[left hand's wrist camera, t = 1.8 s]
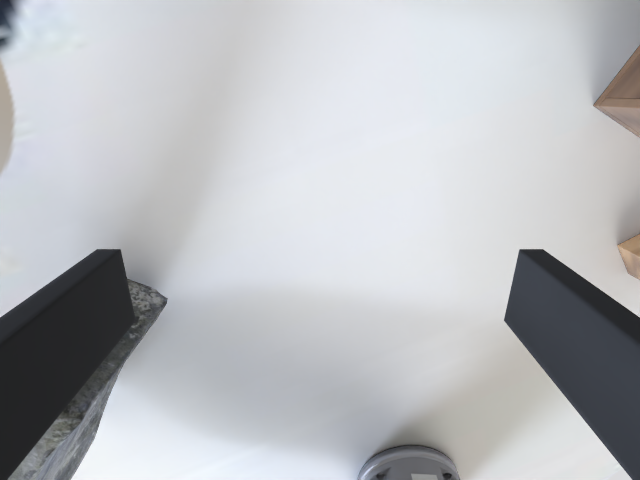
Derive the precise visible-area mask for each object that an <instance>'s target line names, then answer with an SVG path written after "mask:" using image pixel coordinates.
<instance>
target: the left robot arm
mask: <svg viewBox="0 0 640 480" xmlns="http://www.w3.org/2000/svg"><path fill="white" fill-rule="evenodd" d="M135 321H136V319H135V314H134V309H133V305H132V300H131V296H130V291H129V286H128V282H127V277H126V273H125V268H124V263H123V259H122V254H121V250H120V249H97V250H96V251H94V252H93V253H91V254H90V255H88V256H87V257H86V258H84V259H83V260H81V261H80V262H79V263H77V264H76V265H74V266H73V267H71V268H70V269H69V270H67V271H66V272H64V273H63V274H62V275H60V276H59V277H57V278H56V279H54V280H53V281H52V282H50V283H49V284H47V285H46V286H45V287H43V288H42V289H40V290H39V291H37V292H36V293H35V294H33V295H32V296H30V297H29V298H28V299H26V300H25V301H23V302H22V303H20V304H19V305H18V306H16V307H15V308H13V309H12V310H10V311H9V312H8V313H6V314H5V315H3V316H2V317H1V318H0V480H8V478H9V477H10V476H11V475H12V474H13V472H14V471H15V470H16V469H17V467H18V466H19V465H20V464H21V462H22V461H23V460H24V459H25V457H26V456H27V455H28V454H29V452H30V451H31V450H32V449H33V447H34V446H35V445H36V444H37V443H38V441H39V440H40V439H41V438H42V436H43V435H44V434H45V433H46V431H47V430H48V429H49V428H50V426H51V425H52V424H53V423H54V421H55V420H56V419H57V418H58V416H59V415H60V414H61V413H62V412H63V410H64V409H65V408H66V407H67V405H68V404H69V403H70V402H71V400H72V399H73V398H74V397H75V395H76V394H77V393H78V392H79V390H80V389H81V388H82V387H83V385H84V384H85V383H86V382H87V381H88V379H89V378H90V377H91V376H92V374H93V373H94V372H95V371H96V369H97V368H98V367H99V366H100V364H101V363H102V362H103V361H104V359H105V358H106V357H107V356H108V354H109V353H110V352H111V351H112V350H113V348H114V347H115V346H116V345H117V343H118V342H119V341H120V340H121V338H122V337H123V336H124V335H125V333H126V332H127V331H128V330H129V328H130V327H131V326H132V325H133V323H134V322H135ZM504 321H505V322H506V323H507V325H508V326H509V327H510V328H511V330H512V331H513V332H514V333H515V335H516V336H517V337H518V338H519V340H520V341H521V342H522V343H523V345H524V346H525V347H526V348H527V350H528V351H529V352H530V353H531V354H532V356H533V357H534V358H535V359H536V361H537V362H538V363H539V364H540V366H541V367H542V368H543V369H544V371H545V372H546V373H547V374H548V376H549V377H550V378H551V379H552V381H553V382H554V383H555V384H556V385H557V387H558V388H559V389H560V390H561V392H562V393H563V394H564V395H565V397H566V398H567V399H568V400H569V402H570V403H571V404H572V405H573V407H574V408H575V409H576V410H577V412H578V413H579V414H580V415H581V416H582V418H583V419H584V420H585V421H586V423H587V424H588V425H589V426H590V428H591V429H592V430H593V431H594V433H595V434H596V435H597V436H598V438H599V439H600V440H601V441H602V443H603V444H604V445H605V446H606V447H607V449H608V450H609V451H610V452H611V454H612V455H613V456H614V457H615V459H616V460H617V461H618V462H619V464H620V465H621V466H622V467H623V469H624V470H625V471H626V472H627V473H628V475H629V476H630V477H631V478H632V480H640V318H639V317H638V316H637V315H635V314H634V313H632V312H631V311H630V310H628V309H627V308H625V307H624V306H622V305H621V304H620V303H618V302H617V301H615V300H614V299H612V298H611V297H610V296H608V295H607V294H605V293H604V292H603V291H601V290H600V289H598V288H597V287H595V286H594V285H593V284H591V283H590V282H588V281H587V280H586V279H584V278H583V277H581V276H580V275H578V274H577V273H576V272H574V271H573V270H571V269H570V268H569V267H567V266H566V265H564V264H563V263H561V262H560V261H559V260H557V259H556V258H554V257H553V256H552V255H550V254H549V253H547V252H546V251H544V250H543V249H520V250H519V254H518V259H517V263H516V268H515V273H514V277H513V282H512V286H511V291H510V296H509V300H508V305H507V309H506V314H505V319H504ZM358 480H460V478H459V475H458V473H457V470H456V467H455V465H454V464H453V462H452V461H451V460H450V459H449V458H448V457H447V456H445V455H444V454H442V453H441V452H439V451H437V450H434V449H431V448H427V447H422V446H401V447H396V448H392V449H389V450H386V451H384V452H381V453H379V454H377V455H376V456H374V457H373V458H371V459H370V460H369V461H368V462H367V463H366V464H365V465H364V466H363V468H362V469H361V471H360V473H359V476H358Z"/></svg>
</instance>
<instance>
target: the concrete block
mask: <svg viewBox="0 0 640 480" xmlns="http://www.w3.org/2000/svg"><path fill="white" fill-rule="evenodd" d="M127 282H128V286H129V291H130V296H131V300H132V305H133V309H134V314H135V319H136V321H135V322H134V323H133V325H132V326H131V327H130V328H129V330H128V331H127V332H126V333H125V335H124V336H123V337H122V338H121V340H120V341H119V342H118V343H117V345H116V346H115V347H114V348H113V350H112V351H111V352H110V353H109V354H108V356H107V357H106V358H105V359H104V361H103V362H102V363H101V364H100V366H99V367H98V368H97V369H96V371H95V372H94V373H93V374H92V376H91V377H90V378H89V379H88V381H87V382H86V383H85V384H84V385H83V387H82V388H81V389H80V390H79V392H78V393H77V394H76V395H75V397H74V398H73V399H72V400H71V402H70V403H69V404H68V405H67V407H66V408H65V409H64V410H63V412H62V413H61V414H60V415H59V416H58V418H57V419H56V420H55V421H54V423H53V424H52V425H51V426H50V428H49V429H48V430H47V431H46V433H45V434H44V435H43V436H42V438H41V439H40V440H39V441H38V443H37V444H36V445H35V446H34V447H33V449H32V450H31V451H30V452H29V454H28V455H27V456H26V457H25V459H24V460H23V461H22V462H21V464H20V465H19V466H18V467H17V469H16V470H15V471H14V472H13V474H12V475H11V476H10V477H9V478H8V480H71V478H72V477H73V475H74V473H75V472H76V470H77V468H78V467H79V465H80V463H81V462H82V460H83V458H84V456H85V455H86V453H87V451H88V449H89V447H90V445H91V444H92V442H93V440H94V438H95V435H96V433H97V430H98V427H99V423H100V420H101V417H102V414H103V411H104V408H105V406H106V403H107V400H108V397H109V395H110V393H111V390H112V388H113V386H114V384H115V382H116V379H117V377H118V374H119V372H120V370H121V368H122V366H123V364H124V362H125V361H126V359H127V358H128V357H129V355H130V354H131V353H132V351H133V350H134V349H135V347H136V346H137V345H138V343H139V342H140V341H141V339H142V338H143V337H144V335H145V334H146V333H147V331H148V330H149V328H150V327H151V326H152V324H153V323H154V322H155V321H156V319H157V318H158V316H159V314H160V313H161V311H162V310H163V308H164V307H165V305H166V304H167V299H168V298H166V297H164V296H163V295H161V294H160V293H159V292H158V291H157V290H155V289H153V288H151V287H148V286H145V285H142V284H140V283H137V282H134V281H132V280H129V279H127Z"/></svg>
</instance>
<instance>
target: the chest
mask: <svg viewBox="0 0 640 480" xmlns="http://www.w3.org/2000/svg"><path fill="white" fill-rule="evenodd" d="M593 106H594V107H596V108H597V109H599V110H600V111H602V112H603V113H604V114H606V115H607V116H609V117H610V118H612V119H613V120H615V121H616V122H618V123H619V124H621V125H622V126H623V127H625V128H626V129H628V130H629V131H631V132H632V133H634V134H635V135H637V136H638V137H639V138H640V46H639V47H638V48H637V50H636V51H635V52H634V53H633V55H632V56H631V57H630V59H629V60H628V61H627V63H626V64H625V65H624V66H623V68H622V69H621V70H620V72H619V73H618V74H617V75H616V77H615V78H614V79H613V81H612V82H611V83H610V85H609V86H608V87H607V88H606V90H605V91H604V92H603V94H602V95H601V96H600V97H599V99H598V100H597V101H596V103H595V104H594V105H593Z"/></svg>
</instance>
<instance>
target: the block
mask: <svg viewBox="0 0 640 480" xmlns="http://www.w3.org/2000/svg"><path fill="white" fill-rule="evenodd" d="M617 246H618V248H619V251H620V253H621V256H622V258H623V261H624V263H625V266H626V269H627V271H628V273H629V274H630V275H632V276H634V277H635V278H637V279H639V280H640V234H639V235H637V236H635V237H633V238H631V239H629V240H627V241H625V242H623V243H621V244H619V245H617Z"/></svg>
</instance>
